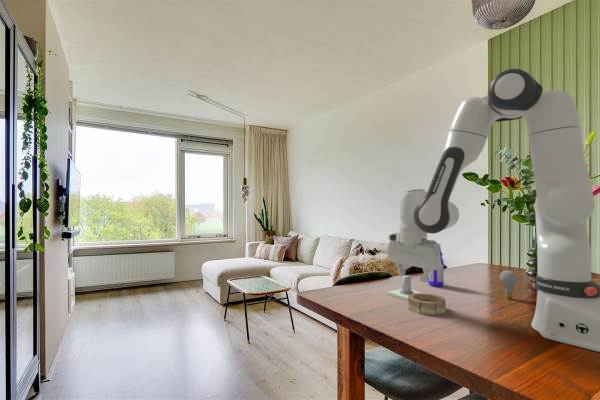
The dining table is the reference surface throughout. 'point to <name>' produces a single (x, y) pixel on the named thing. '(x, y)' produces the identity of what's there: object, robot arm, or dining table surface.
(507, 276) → the light bulb
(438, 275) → the bottle
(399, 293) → the square peg stand
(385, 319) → the dining table surface
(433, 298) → the ring
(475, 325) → the dining table surface
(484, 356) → the dining table surface
